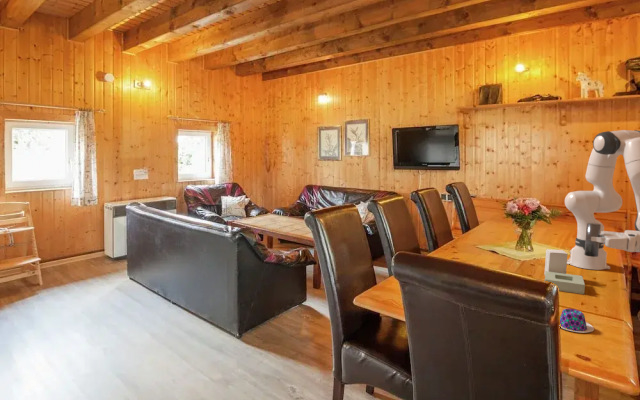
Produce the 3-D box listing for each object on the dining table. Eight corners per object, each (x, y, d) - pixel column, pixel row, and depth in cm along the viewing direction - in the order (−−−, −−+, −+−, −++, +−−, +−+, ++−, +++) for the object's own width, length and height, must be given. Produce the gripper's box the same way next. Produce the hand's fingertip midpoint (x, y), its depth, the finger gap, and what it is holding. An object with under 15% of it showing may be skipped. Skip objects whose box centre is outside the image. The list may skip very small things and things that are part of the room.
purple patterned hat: (554, 331, 126) (555, 315, 126) (548, 317, 138) (549, 302, 137) (598, 337, 122) (600, 321, 121) (588, 322, 133) (589, 307, 133)
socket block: (544, 279, 179) (545, 271, 178) (581, 284, 172) (582, 275, 171) (544, 288, 166) (545, 279, 166) (584, 294, 160) (584, 284, 159)
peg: (583, 253, 176) (586, 222, 174) (597, 254, 173) (600, 223, 172) (584, 255, 171) (587, 224, 170) (598, 257, 169) (601, 225, 167)
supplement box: (566, 280, 177) (568, 253, 176) (547, 279, 179) (549, 252, 178) (561, 276, 184) (563, 249, 183) (543, 274, 186) (545, 248, 185)
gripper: (626, 229, 173) (588, 226, 180) (635, 237, 156) (593, 234, 163) (624, 243, 174) (587, 239, 181) (633, 253, 157) (591, 248, 163)
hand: (590, 237), depth 172 cm, fingers closed on peg, 5 cm apart
